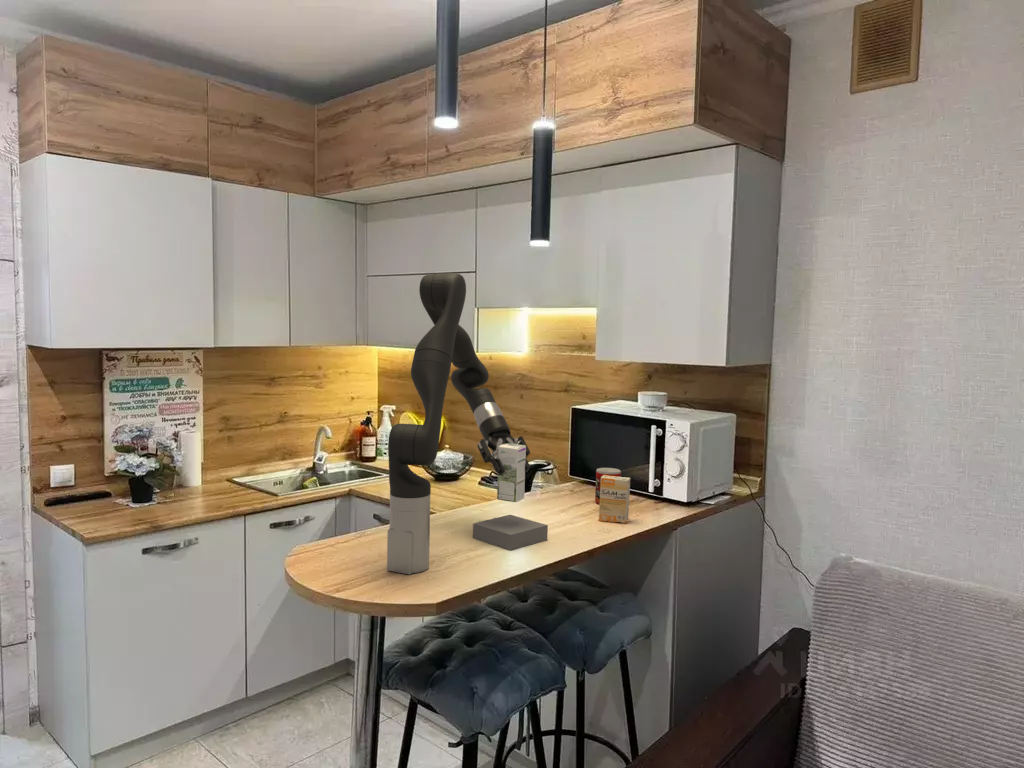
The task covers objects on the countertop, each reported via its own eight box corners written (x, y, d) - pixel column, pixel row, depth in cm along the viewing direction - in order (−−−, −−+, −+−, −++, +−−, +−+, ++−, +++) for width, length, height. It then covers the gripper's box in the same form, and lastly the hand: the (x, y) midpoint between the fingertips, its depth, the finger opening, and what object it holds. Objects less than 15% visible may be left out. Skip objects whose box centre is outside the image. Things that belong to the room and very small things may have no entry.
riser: (510, 550, 180) (510, 534, 179) (472, 538, 189) (473, 523, 189) (547, 539, 190) (547, 525, 189) (509, 528, 199) (510, 514, 199)
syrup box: (525, 498, 190) (526, 444, 189) (515, 503, 185) (517, 447, 184) (505, 495, 193) (507, 442, 191) (496, 500, 187) (497, 445, 186)
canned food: (591, 500, 235) (592, 467, 234) (614, 500, 237) (615, 467, 236) (599, 506, 227) (601, 472, 227) (623, 505, 229) (624, 472, 229)
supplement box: (598, 521, 210) (599, 477, 209) (601, 517, 214) (603, 474, 213) (626, 524, 207) (628, 480, 206) (628, 520, 212) (630, 476, 211)
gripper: (474, 415, 189) (498, 466, 180) (518, 412, 197) (543, 461, 189) (463, 432, 194) (486, 483, 185) (506, 429, 202) (530, 477, 193)
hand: (514, 472), depth 187 cm, fingers closed on syrup box, 7 cm apart
